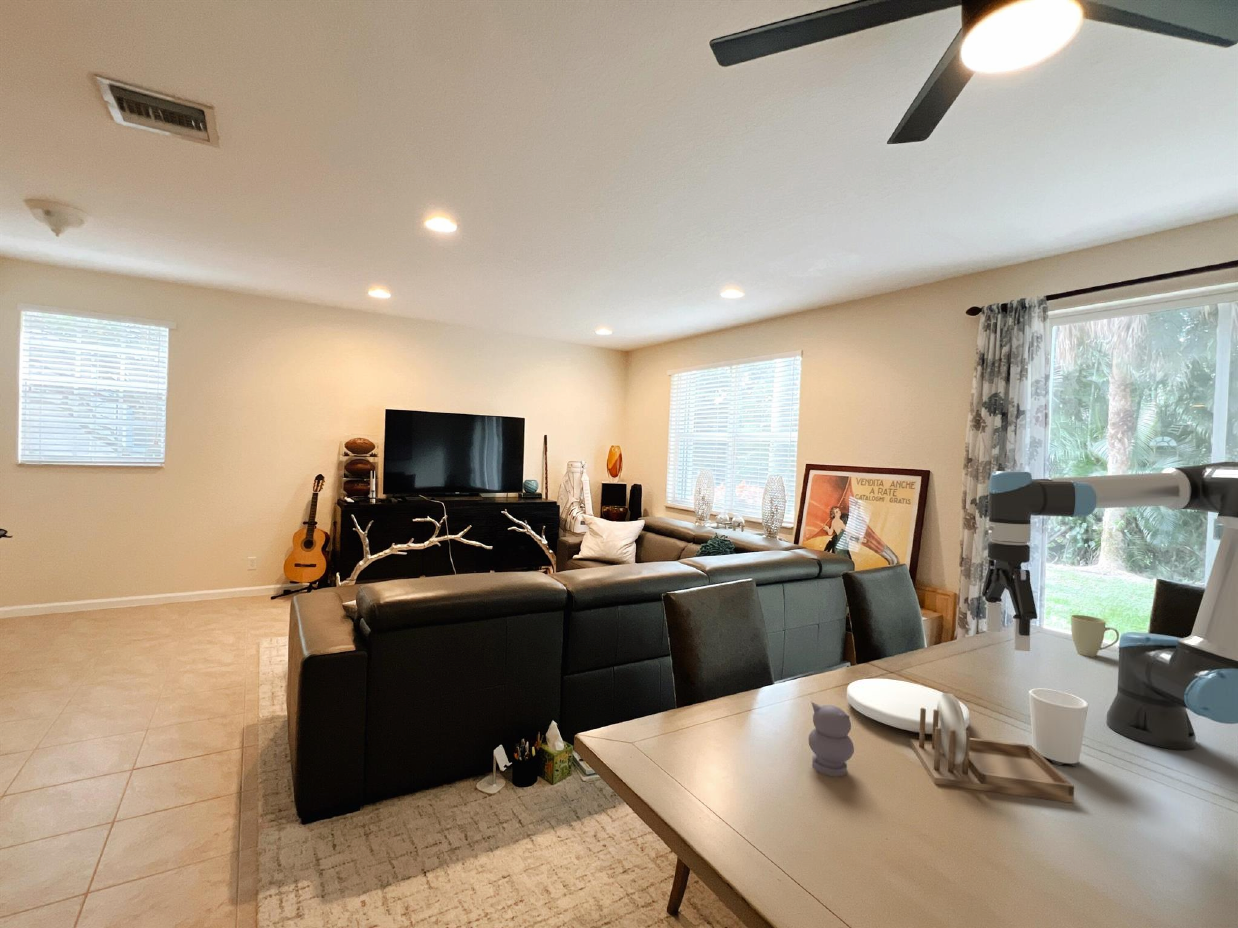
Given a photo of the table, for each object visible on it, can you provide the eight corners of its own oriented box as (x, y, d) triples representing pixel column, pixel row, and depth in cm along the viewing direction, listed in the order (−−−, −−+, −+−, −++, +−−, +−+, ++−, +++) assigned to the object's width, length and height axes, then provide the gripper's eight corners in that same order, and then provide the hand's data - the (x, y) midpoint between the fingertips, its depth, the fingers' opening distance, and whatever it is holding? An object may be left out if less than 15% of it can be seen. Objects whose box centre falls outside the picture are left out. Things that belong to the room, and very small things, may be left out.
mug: (1081, 658, 185) (1083, 621, 185) (1063, 648, 195) (1064, 613, 195) (1119, 661, 183) (1121, 624, 183) (1099, 651, 193) (1100, 616, 193)
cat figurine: (859, 769, 112) (862, 708, 111) (842, 784, 106) (845, 720, 106) (818, 752, 118) (820, 694, 117) (800, 765, 112) (802, 705, 112)
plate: (837, 669, 153) (945, 681, 148) (836, 694, 153) (945, 707, 147) (860, 700, 126) (993, 716, 121) (859, 730, 125) (993, 748, 120)
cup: (1082, 755, 120) (1084, 695, 120) (1089, 776, 112) (1092, 712, 112) (1024, 741, 126) (1027, 684, 126) (1027, 760, 117) (1030, 699, 117)
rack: (1029, 759, 118) (1032, 691, 118) (1073, 802, 103) (1076, 724, 103) (910, 744, 122) (912, 678, 122) (934, 783, 107) (937, 708, 107)
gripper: (967, 534, 136) (965, 622, 136) (1016, 549, 112) (1013, 657, 112) (1002, 535, 134) (1000, 625, 135) (1059, 551, 110) (1057, 661, 110)
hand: (1006, 640), depth 123 cm, fingers open, 13 cm apart
